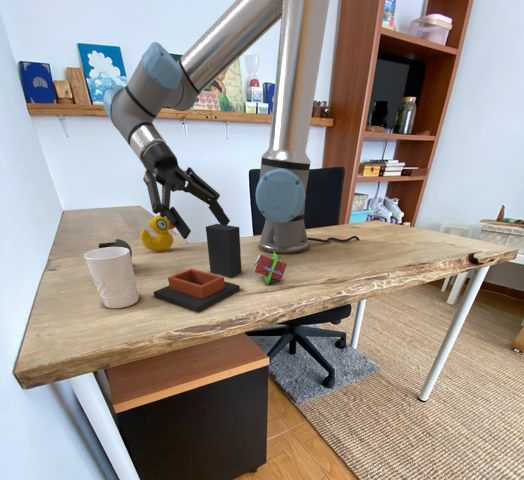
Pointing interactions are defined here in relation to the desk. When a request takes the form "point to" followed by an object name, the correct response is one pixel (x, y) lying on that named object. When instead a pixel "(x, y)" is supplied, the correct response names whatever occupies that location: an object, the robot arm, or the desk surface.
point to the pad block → (224, 249)
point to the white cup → (113, 276)
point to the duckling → (163, 236)
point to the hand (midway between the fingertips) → (208, 229)
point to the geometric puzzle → (270, 267)
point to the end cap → (116, 245)
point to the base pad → (196, 289)
